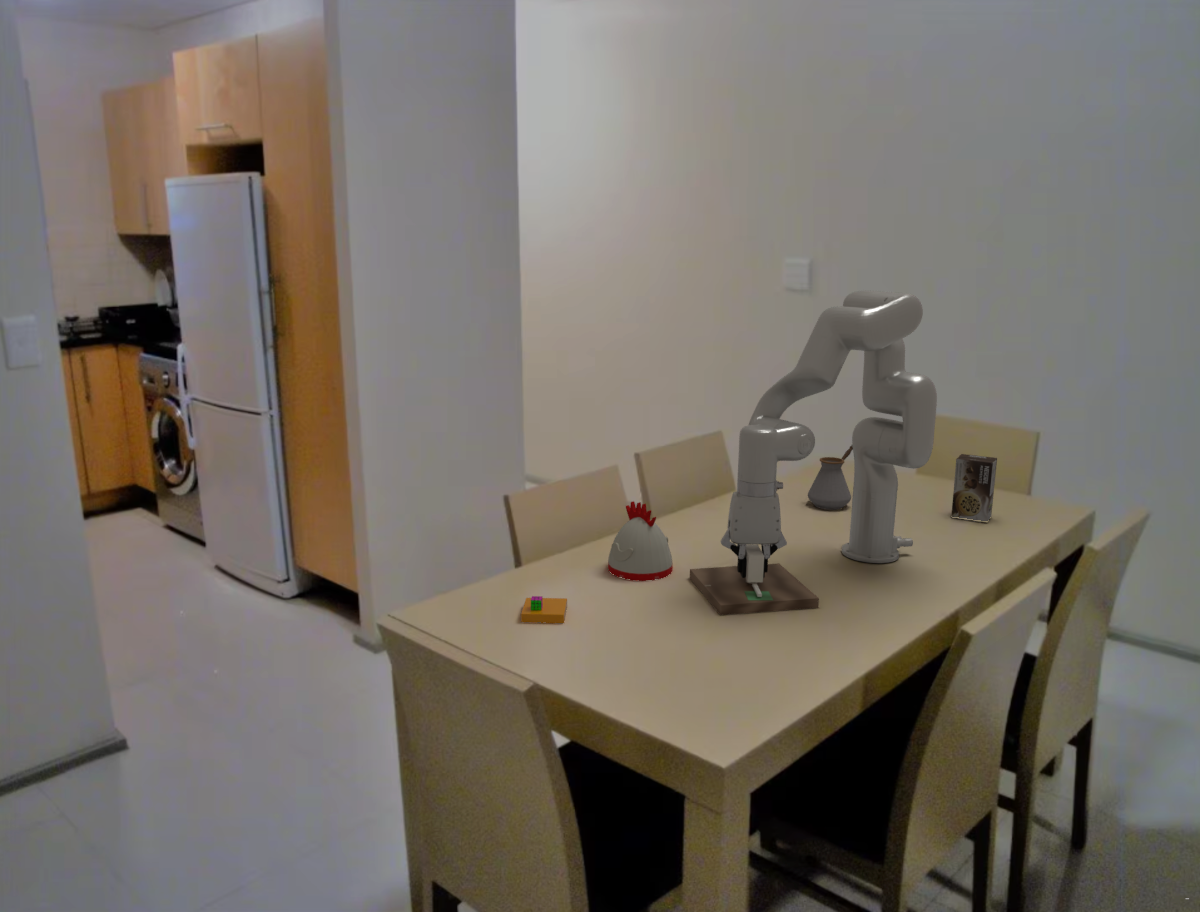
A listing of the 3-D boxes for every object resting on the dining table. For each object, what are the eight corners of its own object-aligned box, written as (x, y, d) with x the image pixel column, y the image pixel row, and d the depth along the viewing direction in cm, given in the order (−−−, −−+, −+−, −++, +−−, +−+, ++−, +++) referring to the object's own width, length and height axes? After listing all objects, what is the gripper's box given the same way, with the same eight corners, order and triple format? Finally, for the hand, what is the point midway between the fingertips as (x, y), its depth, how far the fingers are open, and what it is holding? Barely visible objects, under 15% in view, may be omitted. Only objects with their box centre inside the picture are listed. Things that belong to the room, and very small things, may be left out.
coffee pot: (839, 514, 239) (843, 458, 236) (799, 506, 246) (802, 452, 243) (871, 497, 256) (876, 445, 252) (833, 490, 263) (837, 439, 259)
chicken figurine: (638, 554, 208) (640, 490, 204) (685, 570, 198) (687, 503, 195) (594, 569, 198) (595, 502, 195) (641, 586, 188) (642, 516, 185)
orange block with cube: (526, 608, 178) (525, 587, 177) (567, 609, 177) (567, 588, 176) (521, 624, 170) (520, 603, 169) (564, 625, 170) (564, 604, 169)
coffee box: (991, 518, 238) (998, 457, 234) (987, 524, 233) (994, 462, 229) (955, 512, 243) (961, 453, 239) (949, 518, 237) (955, 457, 234)
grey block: (741, 575, 188) (743, 544, 187) (756, 575, 188) (757, 544, 187) (751, 597, 177) (753, 564, 175) (767, 597, 177) (769, 564, 175)
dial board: (778, 572, 197) (779, 562, 197) (818, 607, 178) (819, 597, 177) (689, 578, 193) (689, 568, 193) (720, 615, 174) (720, 604, 174)
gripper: (793, 483, 184) (788, 569, 189) (712, 482, 184) (709, 569, 188) (802, 493, 177) (796, 582, 181) (717, 492, 177) (714, 582, 181)
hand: (752, 574), depth 185 cm, fingers closed on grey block, 3 cm apart
